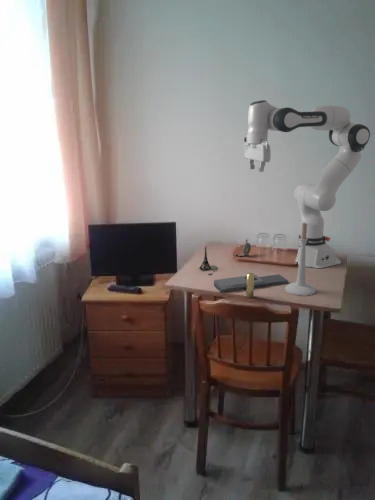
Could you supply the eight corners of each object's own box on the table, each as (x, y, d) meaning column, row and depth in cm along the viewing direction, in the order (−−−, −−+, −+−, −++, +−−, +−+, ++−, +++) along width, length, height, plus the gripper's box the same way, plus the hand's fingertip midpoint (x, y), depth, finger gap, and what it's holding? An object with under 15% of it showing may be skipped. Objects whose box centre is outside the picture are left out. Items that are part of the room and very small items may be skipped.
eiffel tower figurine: (211, 276, 211) (211, 249, 207) (191, 274, 215) (190, 247, 211) (221, 266, 224) (221, 241, 220) (202, 264, 228) (202, 239, 224)
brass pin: (251, 294, 188) (252, 272, 185) (254, 297, 186) (255, 274, 183) (245, 295, 188) (245, 273, 185) (248, 298, 185) (248, 275, 182)
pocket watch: (235, 253, 243) (235, 235, 240) (250, 253, 242) (251, 235, 239) (234, 257, 235) (234, 239, 232) (250, 258, 234) (251, 240, 231)
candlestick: (284, 294, 188) (288, 225, 179) (285, 283, 200) (288, 218, 191) (316, 297, 185) (321, 226, 176) (315, 285, 197) (320, 219, 188)
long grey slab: (279, 277, 207) (279, 271, 206) (287, 283, 200) (287, 277, 199) (214, 285, 199) (214, 280, 198) (220, 292, 191) (220, 286, 190)
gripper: (274, 140, 190) (273, 172, 194) (254, 137, 209) (253, 167, 213) (261, 140, 188) (260, 173, 192) (241, 138, 207) (241, 168, 211)
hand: (256, 170), depth 203 cm, fingers open, 8 cm apart
